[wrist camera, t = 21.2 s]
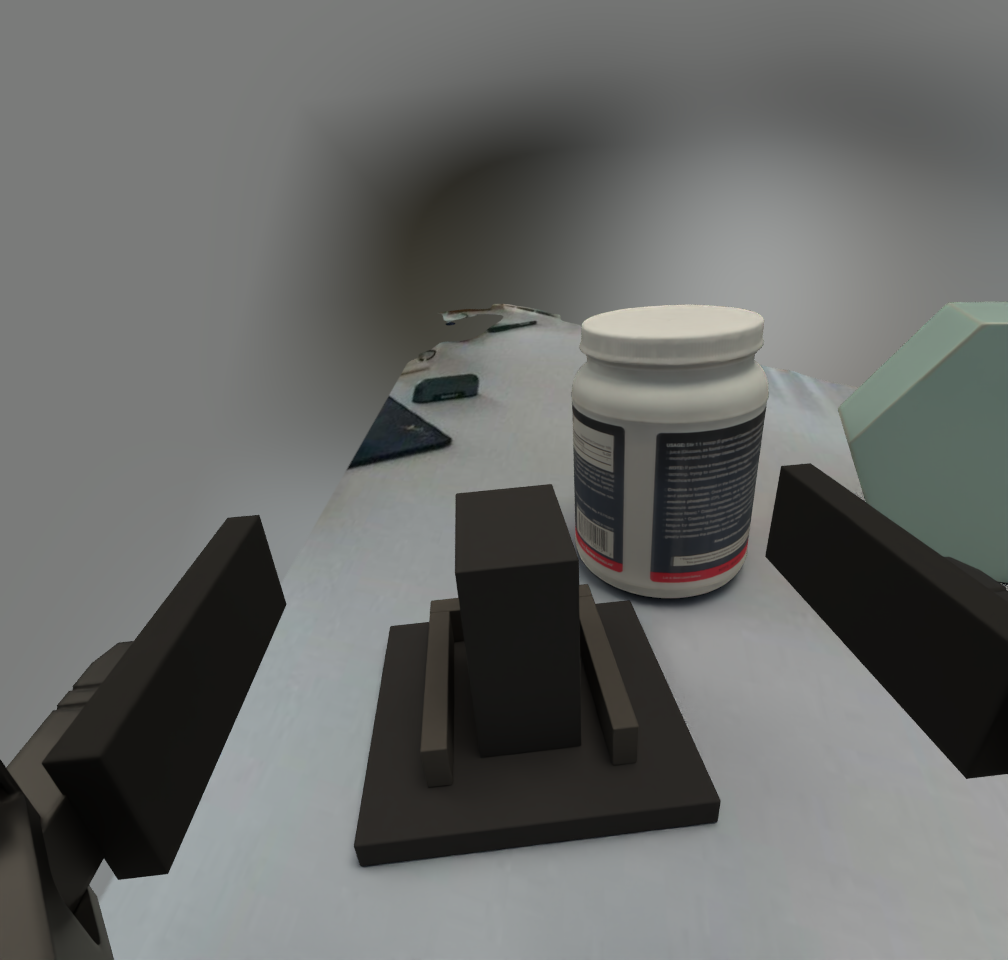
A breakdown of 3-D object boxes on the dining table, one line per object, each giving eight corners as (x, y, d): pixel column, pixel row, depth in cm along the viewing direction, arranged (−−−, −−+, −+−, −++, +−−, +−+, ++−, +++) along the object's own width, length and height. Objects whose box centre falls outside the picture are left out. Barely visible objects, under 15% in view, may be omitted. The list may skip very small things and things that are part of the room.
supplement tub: (746, 527, 46) (778, 300, 38) (741, 625, 35) (784, 341, 27) (596, 507, 51) (596, 303, 43) (553, 589, 40) (542, 338, 32)
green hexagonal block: (958, 575, 45) (1268, 377, 34) (989, 636, 39) (1384, 419, 27) (786, 456, 47) (1025, 226, 35) (789, 496, 41) (1081, 233, 29)
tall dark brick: (480, 758, 26) (454, 572, 22) (475, 654, 33) (455, 493, 28) (581, 746, 27) (579, 559, 22) (558, 645, 33) (551, 483, 28)
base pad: (359, 867, 24) (341, 809, 22) (393, 643, 36) (383, 594, 35) (718, 822, 24) (727, 762, 23) (629, 617, 37) (631, 568, 35)
